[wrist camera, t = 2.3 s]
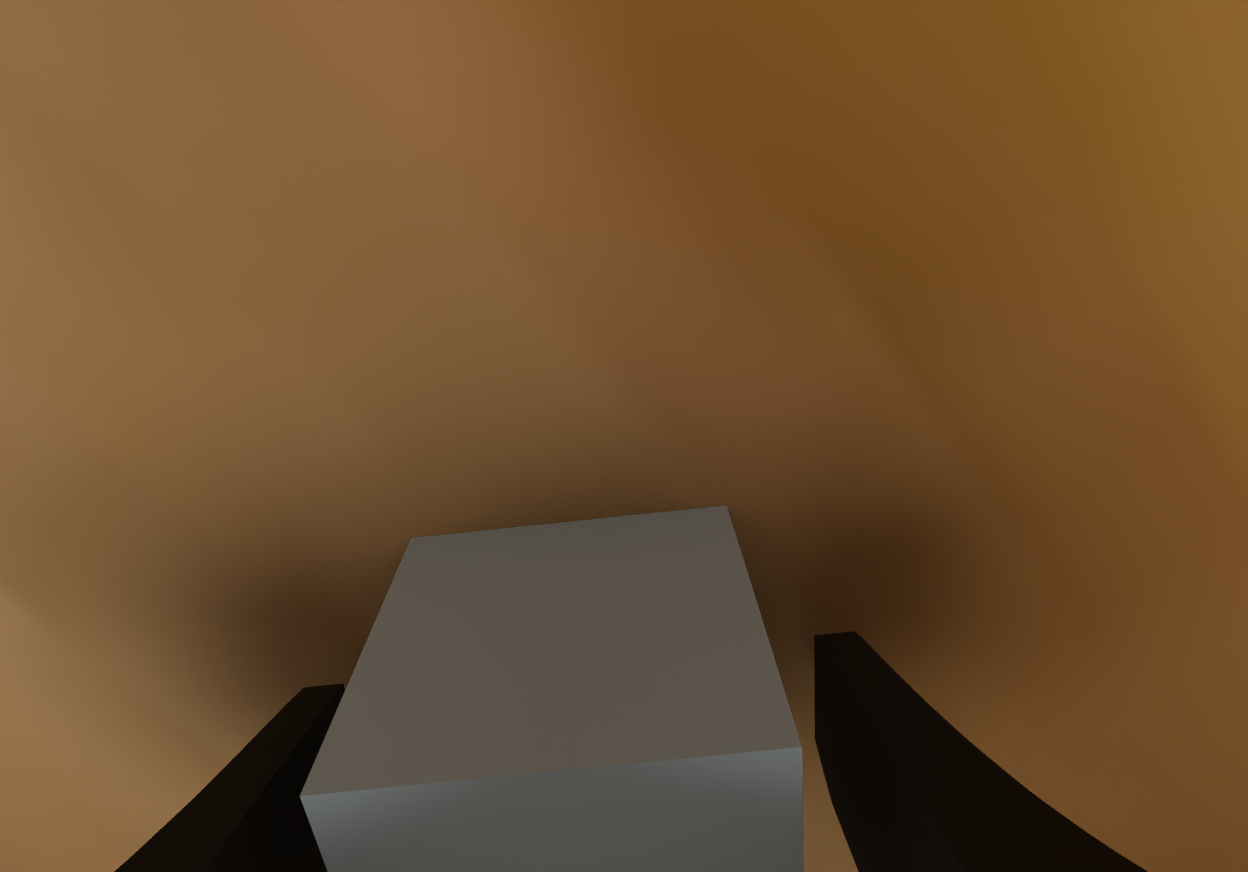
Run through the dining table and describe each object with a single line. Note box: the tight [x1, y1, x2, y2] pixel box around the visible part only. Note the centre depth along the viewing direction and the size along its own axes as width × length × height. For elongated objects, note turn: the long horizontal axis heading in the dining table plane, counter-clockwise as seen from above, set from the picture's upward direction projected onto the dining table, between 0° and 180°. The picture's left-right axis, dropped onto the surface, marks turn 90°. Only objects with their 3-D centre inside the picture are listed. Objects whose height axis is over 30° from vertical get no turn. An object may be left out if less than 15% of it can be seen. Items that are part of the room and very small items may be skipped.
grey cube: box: [300, 505, 803, 872], centre depth 11 cm, size 5×5×5 cm
